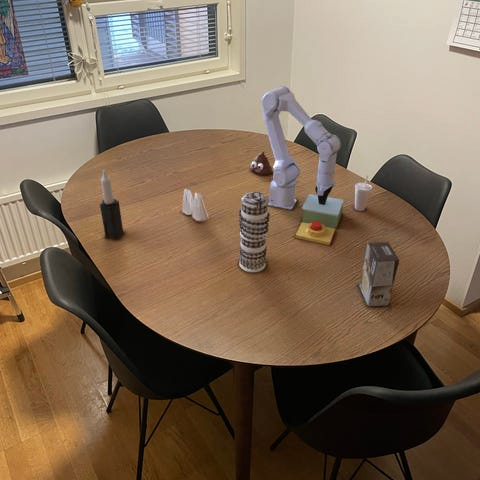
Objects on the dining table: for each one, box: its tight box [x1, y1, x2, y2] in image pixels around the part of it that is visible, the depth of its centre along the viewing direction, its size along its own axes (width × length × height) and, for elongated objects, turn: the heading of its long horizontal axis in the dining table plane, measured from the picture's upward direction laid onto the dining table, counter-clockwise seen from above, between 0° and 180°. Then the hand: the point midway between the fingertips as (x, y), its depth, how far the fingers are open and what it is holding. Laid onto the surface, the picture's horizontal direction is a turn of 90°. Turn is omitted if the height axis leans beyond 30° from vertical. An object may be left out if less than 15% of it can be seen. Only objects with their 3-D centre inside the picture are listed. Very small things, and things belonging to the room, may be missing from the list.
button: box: [311, 221, 322, 231], centre depth 160 cm, size 4×4×2 cm
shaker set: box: [181, 188, 210, 223], centre depth 168 cm, size 12×4×11 cm, turn 40°
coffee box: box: [359, 241, 400, 307], centre depth 132 cm, size 9×6×16 cm
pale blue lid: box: [301, 193, 345, 216], centre depth 169 cm, size 13×11×1 cm
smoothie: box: [354, 175, 373, 212], centre depth 174 cm, size 6×6×14 cm
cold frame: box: [301, 203, 344, 230], centre depth 170 cm, size 12×11×5 cm
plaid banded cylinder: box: [238, 191, 271, 273], centre depth 141 cm, size 9×9×25 cm
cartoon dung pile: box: [249, 151, 273, 176], centre depth 201 cm, size 10×8×9 cm
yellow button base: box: [295, 222, 336, 246], centre depth 162 cm, size 12×9×3 cm
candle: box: [99, 169, 124, 241], centre depth 154 cm, size 5×5×25 cm
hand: (321, 203), depth 169 cm, fingers closed, pressing on pale blue lid
